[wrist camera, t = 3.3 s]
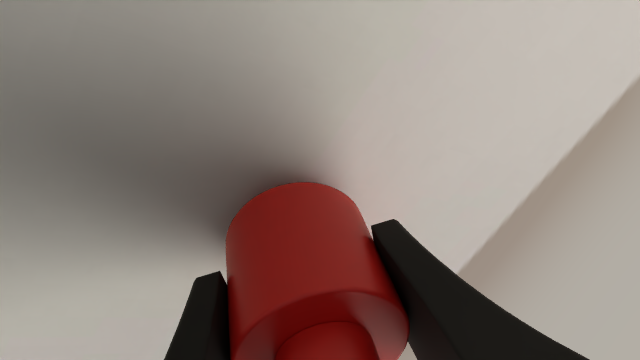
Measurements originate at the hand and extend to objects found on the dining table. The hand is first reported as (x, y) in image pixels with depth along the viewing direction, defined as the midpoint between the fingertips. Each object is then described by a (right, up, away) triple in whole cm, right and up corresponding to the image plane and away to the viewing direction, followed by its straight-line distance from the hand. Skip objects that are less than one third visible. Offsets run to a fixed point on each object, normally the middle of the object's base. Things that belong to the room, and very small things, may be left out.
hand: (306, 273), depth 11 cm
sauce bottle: (0, +1, +1) cm, 1 cm away
